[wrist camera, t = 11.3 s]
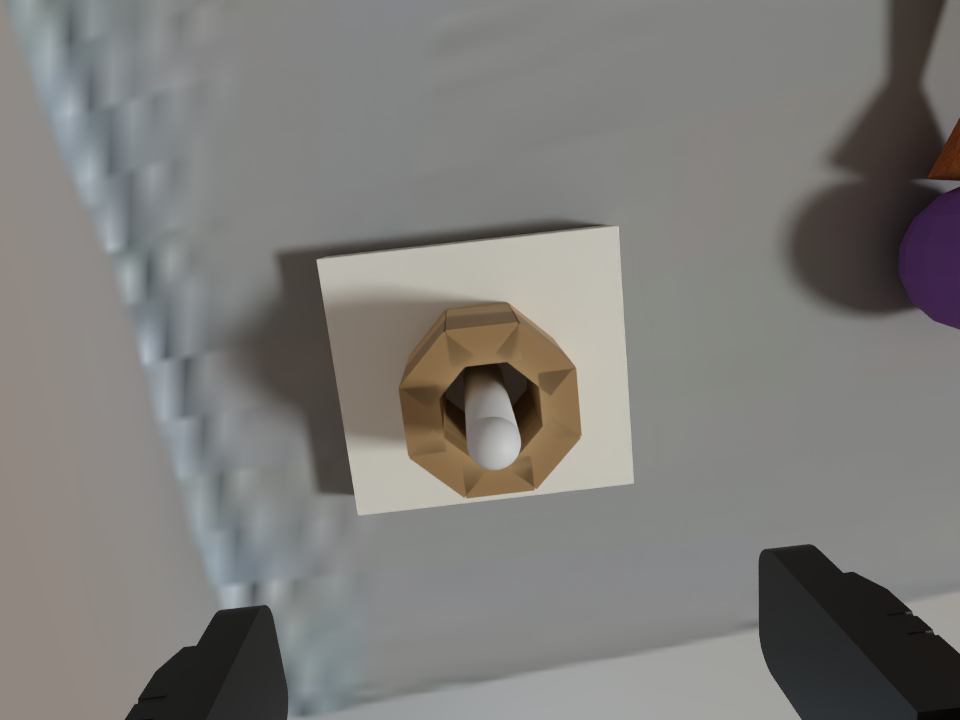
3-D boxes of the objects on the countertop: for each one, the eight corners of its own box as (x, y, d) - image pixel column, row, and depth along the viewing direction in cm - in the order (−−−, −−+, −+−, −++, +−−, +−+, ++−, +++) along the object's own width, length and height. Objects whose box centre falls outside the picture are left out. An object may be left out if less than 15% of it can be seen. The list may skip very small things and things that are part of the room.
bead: (402, 313, 26) (390, 336, 22) (550, 296, 26) (572, 315, 22) (422, 453, 28) (415, 504, 23) (562, 436, 28) (585, 484, 23)
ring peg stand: (326, 256, 28) (247, 282, 17) (607, 224, 28) (698, 231, 17) (364, 496, 30) (315, 647, 20) (622, 466, 30) (711, 600, 20)
